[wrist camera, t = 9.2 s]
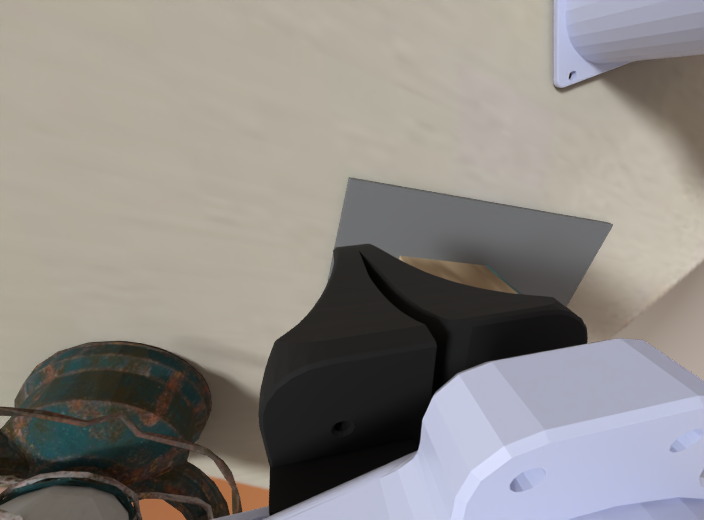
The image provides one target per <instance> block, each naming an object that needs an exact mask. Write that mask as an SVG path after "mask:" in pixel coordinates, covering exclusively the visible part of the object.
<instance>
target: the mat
mask: <svg viewBox="0 0 704 520" xmlns="http://www.w3.org/2000/svg"><path fill="white" fill-rule="evenodd" d="M612 226H613V224H610V223H608V222H602V221H596V220H590V219H585V218H579V217H573V216H568V215H562V214H556V213H550V212H545V211H539V210H533V209H527V208H522V207H516V206H510V205H505V204H499V203H493V202H487V201H482V200H476V199H470V198H464V197H459V196H453V195H447V194H442V193H436V192H430V191H424V190H419V189H413V188H407V187H401V186H396V185H390V184H384V183H379V182H373V181H367V180H361V179H356V178H350V177H349V180H348V185H347V190H346V194H345V199H344V204H343V209H342V214H341V219H340V224H339V229H338V234H337V239H336V244H335V248H336V247H343V246H352V245H360V244H369V243H370V244H372V245H374V246H376V247H378V248H380V249H381V250H383V251H385V252H387V253H389V254H390V255H392V256H394V257H396V258H398V259H399V258H400V256H407V257H416V258H424V259H433V260H442V261H451V262H460V263H468V264H477V265H486V266H489V267H490V268H491V269H492V270H494V271H495V272H496V273H497V274H498V275H500V276H501V277H502V278H503V279H504V280H506V281H507V282H508V283H509V284H510V285H512V286H513V287H514V288H515V289H516V290H518V291H519V292H520V293H521V294H524V295H536V296H547V297H554V298H555V299H556V300H558V301H559V302H560V303H562V304H563V305H564V306H565V307H566V306H567V304H568V303H569V301H570V299H571V297H572V296H573V294H574V292H575V290H576V289H577V287H578V285H579V283H580V282H581V280H582V278H583V277H584V275H585V273H586V271H587V270H588V268H589V266H590V264H591V263H592V261H593V259H594V257H595V256H596V254H597V252H598V250H599V249H600V247H601V245H602V244H603V242H604V240H605V238H606V237H607V235H608V233H609V231H610V230H611V228H612ZM333 265H334V254H333V258H332V263H331V268H330V273H329V278H330V276H331V273H332V269H333ZM329 278H328V281H329Z"/></svg>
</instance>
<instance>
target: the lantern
mask: <svg viewBox="0 0 704 520" xmlns="http://www.w3.org/2000/svg"><path fill="white" fill-rule="evenodd" d="M210 411H211V395H210V391H209V387H208V385H207V384H206V382H205V380H204V378H203V377H202V376H201V375H200V374H199V373H198V372H197V371H196V370H195V369H193V368H192V367H191V366H190V365H189V364H188V363H187V362H185V361H183V360H181V359H179V358H178V357H176V356H174V355H172V354H170V353H168V352H166V351H164V350H161V349H157V348H154V347H150V346H147V345H143V344H139V343H130V342H121V341H111V342H92V343H86V344H82V345H79V346H76V347H72V348H69V349H65V350H62V351H59V352H57V353H55V354H54V355H52V356H51V357H49V358H48V359H46V360H45V361H43V362H42V363H40V364H39V365H37V366H36V367H35V369H34V370H33V371H32V373H31V374H30V376H29V377H28V378H27V380H26V381H25V382H24V384H23V386H22V387H21V389H20V391H19V393H18V395H17V397H16V399H15V408H12V407H0V416H11V418H10V419H9V420H8V421H7V423H6V424H5V425H4V426H3V427H2V428H1V429H0V484H10V486H9V487H8V488H7V489H6V490H5V491H3V492H2V493H1V494H0V520H142V517H141V513H140V507H139V500H141V499H151V498H153V499H163V500H165V501H166V502H167V503H169V504H171V505H172V506H173V507H174V508H176V509H177V510H179V511H180V512H181V513H182V514H183V515H184V517H185V518H186V520H211V519H215V518H220V517H224V516H228V515H230V513H229V509H228V505H227V502H226V500H225V499H224V497H223V496H222V494H221V492H220V491H219V489H218V487H217V486H216V484H215V483H214V481H212V480H211V479H210V478H209V477H208V476H207V475H206V474H205V473H204V472H202V471H201V470H200V469H199V468H197V467H196V466H194V465H193V464H191V463H189V462H187V458H188V455H189V451H190V450H191V451H194V452H197V453H200V454H204V455H207V456H208V457H210V458H211V459H213V460H214V462H215V463H216V465H217V466H218V468H219V469H220V471H221V472H222V474H223V475H224V477H225V478H226V480H227V481H228V483H229V485H230V486H231V488H232V511H233V514H237V513H241V512H242V508H241V501H240V496H239V493H238V490H237V487H236V484H235V481H234V478H233V475H232V472H231V470H230V469H229V468H228V466H227V465H226V464H225V462H224V461H223V460H222V459H221V458H219V457H218V456H217V455H215V454H214V453H213V452H211V451H210V450H209V449H207V448H205V447H202V446H200V445H197V444H194V442H195V441H196V440H198V438H199V436H200V434H201V432H202V430H203V429H204V427H205V425H206V422H207V419H208V417H209V415H210ZM6 496H7V497H6ZM3 498H4V499H3ZM131 502H133V505H134V507H133V506H132V504H131Z"/></svg>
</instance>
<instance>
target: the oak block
mask: <svg viewBox="0 0 704 520" xmlns="http://www.w3.org/2000/svg"><path fill="white" fill-rule="evenodd" d="M399 260H401V261H403V262H405V263H407V264H409V265H411V266H414V267H416V268H418V269H420V270H422V271H425V272H427V273H430V274H433V275H435V276H438V277H441V278H444V279H447V280H450V281H454V282H457V283H461V284H465V285H469V286H473V287H478V288H483V289H488V290H494V291H500V292H506V293H514V294H521V293H520V292H519V291H518V290H516V289H515V288H514V287H513V286H512V285H510V284H509V283H508V282H507V281H506V280H504V279H503V278H502V277H501V276H500V275H498V274H497V273H496V272H495V271H494V270H492V269H491V268H490V267H489V266H486V265H477V264H468V263H460V262H451V261H442V260H433V259H424V258H416V257H407V256H400V258H399Z"/></svg>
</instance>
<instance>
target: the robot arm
mask: <svg viewBox="0 0 704 520" xmlns="http://www.w3.org/2000/svg"><path fill="white" fill-rule="evenodd" d="M694 55H704V0H554V85H555V86H556V87H557V88H563V87H567V86H569V85H572V84H575V83H577V82H580V81H583V80H585V79H588V78H591V77H593V76H596V75H599V74H601V73H604V72H607V71H609V70H612V69H615V68H617V67H620V66H623V65H625V64H628V63H631V62H633V61H640V60H651V59H661V58H672V57H683V56H694ZM570 73H571V74H572V75H571V78H570V79H569V74H570ZM333 254H334V265H333V269H332V273H331V276H330V278H329V281H328V283H327V286H326V288H325V290H324V292H323V293H322V295H321V297H320V299H319V300H318V301H317V303H316V304H315V306H314V307H313V309H312V310H311V311H310V312H309V313H308V315H307V316H306V317H305V318H304V319H303V320H302V321H301V322H300V323H299V324H298V325H296V326H295V327H294V328H293V329H291V330H290V331H288V332H287V333H286V334H284V335H283V336H282V337H280V338H279V339H277V340H276V341H275V343H274V345H273V348H272V351H271V353H270V356H269V359H268V362H267V365H266V369H265V372H264V377H263V381H262V386H261V391H260V403H259V426H260V430H261V434H262V438H263V442H264V446H265V450H266V453H267V457H268V461H269V465H270V489H269V506H267V507H263V508H259V509H254V510H250V511H246V512H241V513H237V514H233V515H228V516H224V517H220V518H215V519H211V520H704V381H703V380H701V379H700V378H698V377H697V376H696V375H694V374H693V373H691V372H690V371H688V370H687V369H685V368H684V367H682V366H681V365H679V364H678V363H677V362H675V361H673V360H672V359H671V358H669V357H668V356H666V355H665V354H663V353H662V352H660V351H659V350H657V349H656V348H654V347H653V346H652V345H650V344H649V343H647V342H646V341H644V340H636V339H622V338H621V339H620V338H618V339H610V340H604V341H599V342H593V343H588V344H587V339H588V338H587V328H586V326H585V324H584V322H583V320H582V319H581V318H580V317H578V316H577V315H576V314H575V313H573V312H572V311H571V310H569V309H568V308H567V307H565V306H564V305H563V304H562V303H560V302H559V301H558V300H556V299H555V298H554V297H547V296H536V295H524V294H514V293H506V292H500V291H494V290H488V289H483V288H478V287H473V286H469V285H465V284H461V283H457V282H454V281H450V280H447V279H444V278H441V277H438V276H435V275H433V274H430V273H427V272H425V271H422V270H420V269H418V268H416V267H414V266H411V265H409V264H407V263H405V262H403V261H401V260H399V259H398V258H396V257H394V256H392V255H390V254H389V253H387V252H385V251H383V250H381V249H380V248H378V247H376V246H374V245H372V244H370V243H369V244H360V245H352V246H343V247H336V248H335V249H334V250H333Z"/></svg>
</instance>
